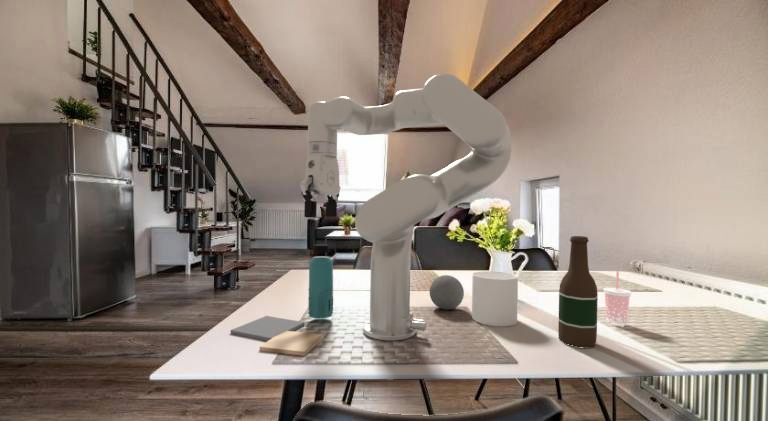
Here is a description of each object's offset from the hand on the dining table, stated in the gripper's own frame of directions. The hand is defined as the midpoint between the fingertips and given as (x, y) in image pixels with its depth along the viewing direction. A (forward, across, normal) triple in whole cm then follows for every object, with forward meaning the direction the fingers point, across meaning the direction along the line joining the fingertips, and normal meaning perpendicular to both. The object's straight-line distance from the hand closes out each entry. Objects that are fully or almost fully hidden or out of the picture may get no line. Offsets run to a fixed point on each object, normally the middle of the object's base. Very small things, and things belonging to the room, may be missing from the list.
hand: (321, 217), depth 93 cm
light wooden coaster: (+27, -16, -4) cm, 32 cm away
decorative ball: (+27, +25, -28) cm, 46 cm away
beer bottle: (+27, +12, -61) cm, 68 cm away
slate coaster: (+27, -11, +7) cm, 30 cm away
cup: (+27, +21, -42) cm, 54 cm away
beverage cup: (+27, +31, -72) cm, 83 cm away
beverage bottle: (+27, 0, 0) cm, 27 cm away
